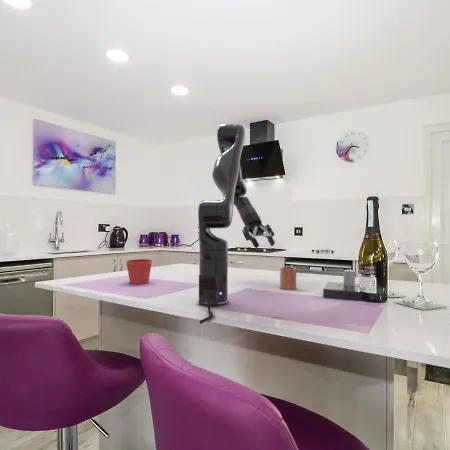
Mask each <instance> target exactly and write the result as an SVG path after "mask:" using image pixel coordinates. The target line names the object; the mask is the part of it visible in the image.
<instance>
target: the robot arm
mask: <svg viewBox="0 0 450 450" xmlns="http://www.w3.org/2000/svg"><path fill="white" fill-rule="evenodd" d="M245 140H246V129H245V127H244V125H242V124H237V123H236V124H235V123H234V124H233V123H231V124H230V123H227V124H226V123H225V124H220V125H218V127H217V130H216V141H217V145H218V149H219V152H220V155H219V156H218V157H217V158H216V160H215V162H214V165H213V169H212V174H211V176H212V180H213V183H214V185H215V186H216V187H217V189H218V190H219V191H220V193H221V195H222V197H223V198H222V199H205V200H201V201H200V203H199V204H198V208H197V220H198V221H197V223H198V242H199V248H198V249H199V255H198V256H199V261H198V262H199V263H198V264H199V266H198V270H199V271H198V273H199V275H198V304H199V305H204V306H206V307H207V310H208V314H209V315H208V316H207V317H205V318H203V319H201V320H200V321H199V324H203V323H205V322H207V321H209V320H211V319H212V318H213V317H214V313H213V312H212V309H211V306H214V307H217V306H221V305H227V304H228V303H229V299H228V296H229V295H228V294H229V291H228V289H229V288H228V287H229V286H228V285H229V283H228V282H229V281H228V279H229V274H228V273H229V243H228V241H227V240H226V239H224V238H221V237H218V236H216V235H215V234H214V233H213V232H212V229H228V228H230V226H231V225H232V221H233V216H234V207H235V208H236V209H237V212H238V214H239V217H240V219H241V221H242V222H243V225H244V226H243V228H242V230H241V232H242V234H243V236H244V238H245V241H247V242H248V241H250V242H251V244H252V246H253V247H254V248H255V249H258V248H259V246H260V244H259V242H258V240H257V238H256V237H263V238H265V239H267V242H268V243H269V245H270V247H273V246H275V244H276V241H275V239H274V238H273V237H274V236H275V232H274V231H273V229H272V227H271V225H270V224H268V223H267V224H266V225H263V223H262V219H261V217H260V215H259V213H258V212H257V210H256V209H255V207H254V205H253V204H252V202H251V201H250V199H249V198H248V197H247V196H245V195H246V194H247V192H248V189H247V186H246V184H245V183H244V180H243V175H242V166H241V156H242V152H243V148H244V145H245Z"/></svg>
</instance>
